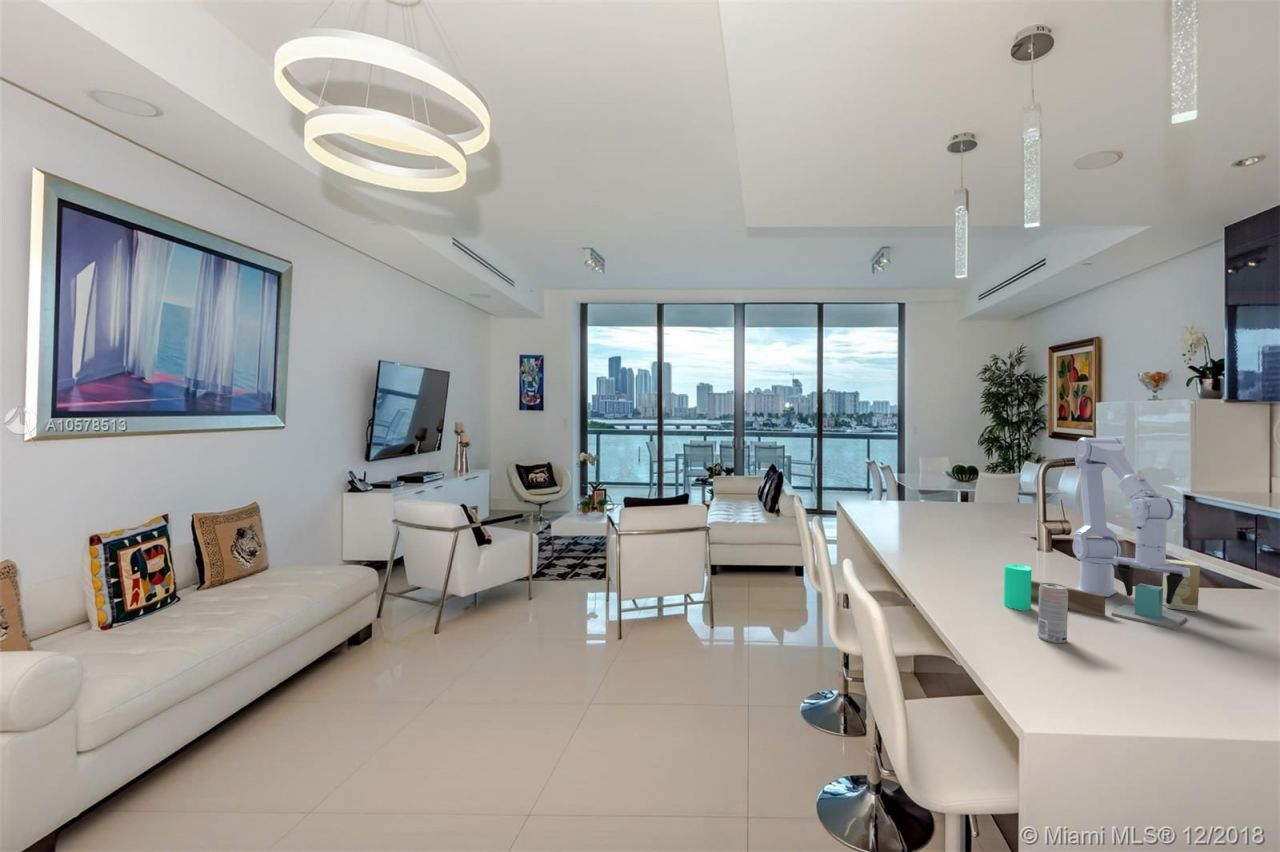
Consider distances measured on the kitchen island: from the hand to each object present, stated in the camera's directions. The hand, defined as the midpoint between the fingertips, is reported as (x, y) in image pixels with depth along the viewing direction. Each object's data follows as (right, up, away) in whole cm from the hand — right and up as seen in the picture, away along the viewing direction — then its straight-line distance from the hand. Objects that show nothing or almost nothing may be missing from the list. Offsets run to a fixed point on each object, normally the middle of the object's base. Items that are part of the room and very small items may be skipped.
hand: (1148, 599), depth 148 cm
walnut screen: (-17, -4, +9) cm, 19 cm away
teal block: (0, -4, 0) cm, 4 cm away
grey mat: (0, -5, 0) cm, 5 cm away
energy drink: (-35, -5, -15) cm, 38 cm away
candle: (-28, -4, +7) cm, 30 cm away
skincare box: (+15, -5, +7) cm, 17 cm away
